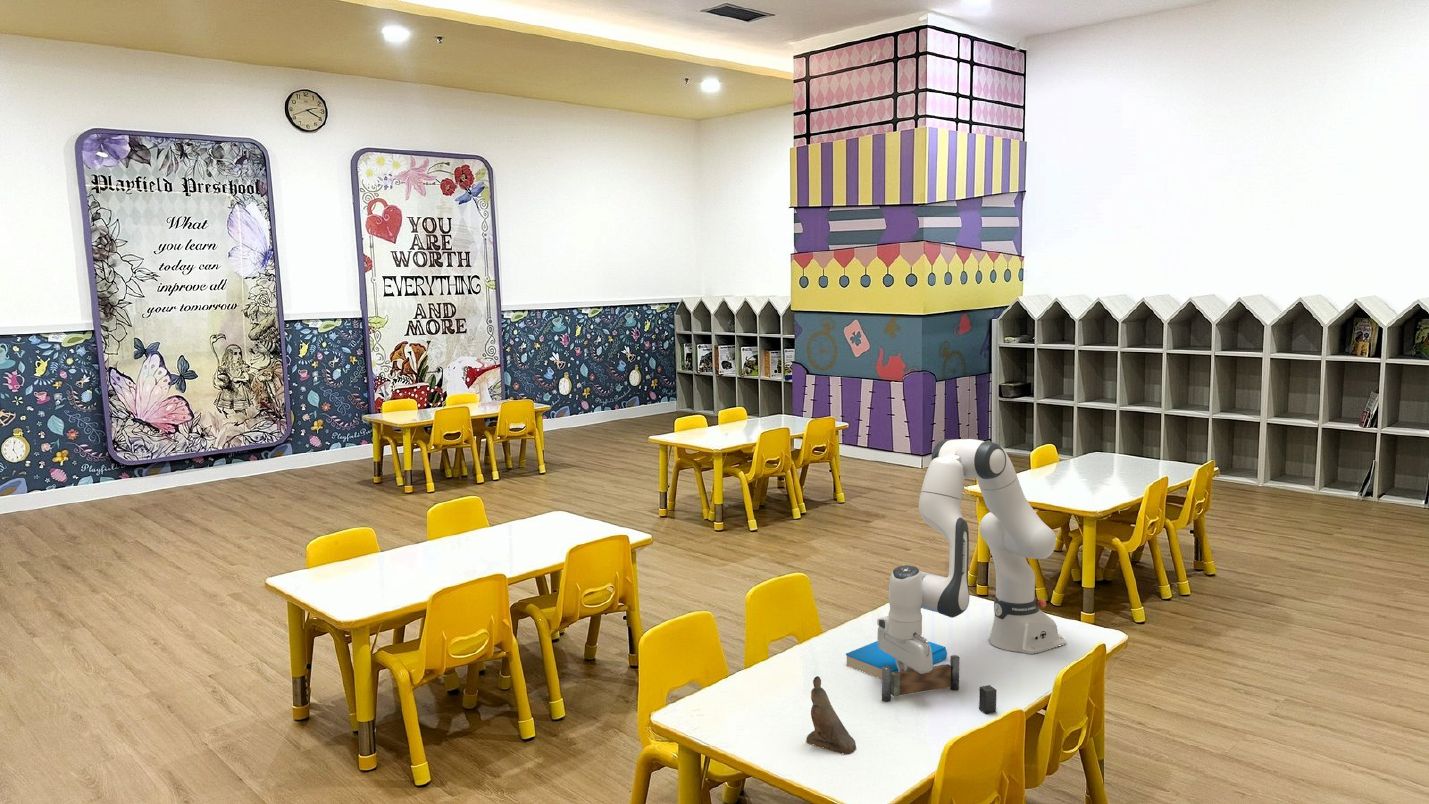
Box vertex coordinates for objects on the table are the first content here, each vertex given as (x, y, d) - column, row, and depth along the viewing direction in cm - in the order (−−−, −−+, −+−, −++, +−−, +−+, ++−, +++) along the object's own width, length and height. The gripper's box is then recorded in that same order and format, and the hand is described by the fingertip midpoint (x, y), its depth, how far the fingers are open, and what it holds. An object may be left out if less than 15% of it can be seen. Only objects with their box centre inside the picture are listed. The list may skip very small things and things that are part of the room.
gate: (947, 684, 260) (947, 663, 259) (950, 687, 258) (951, 666, 257) (890, 694, 255) (891, 672, 254) (894, 697, 253) (894, 675, 252)
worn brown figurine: (806, 752, 232) (791, 679, 232) (818, 743, 236) (804, 671, 236) (848, 757, 225) (833, 681, 224) (860, 747, 229) (845, 673, 228)
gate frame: (960, 685, 262) (960, 654, 260) (995, 712, 246) (996, 678, 245) (880, 699, 254) (880, 666, 253) (911, 727, 239) (912, 692, 237)
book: (845, 653, 276) (899, 630, 292) (845, 668, 276) (899, 643, 293) (893, 671, 263) (947, 646, 279) (893, 686, 264) (947, 660, 280)
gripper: (939, 638, 249) (938, 689, 251) (892, 613, 268) (892, 661, 269) (919, 642, 247) (918, 694, 248) (873, 617, 265) (873, 665, 267)
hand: (904, 676), depth 259 cm, fingers closed
